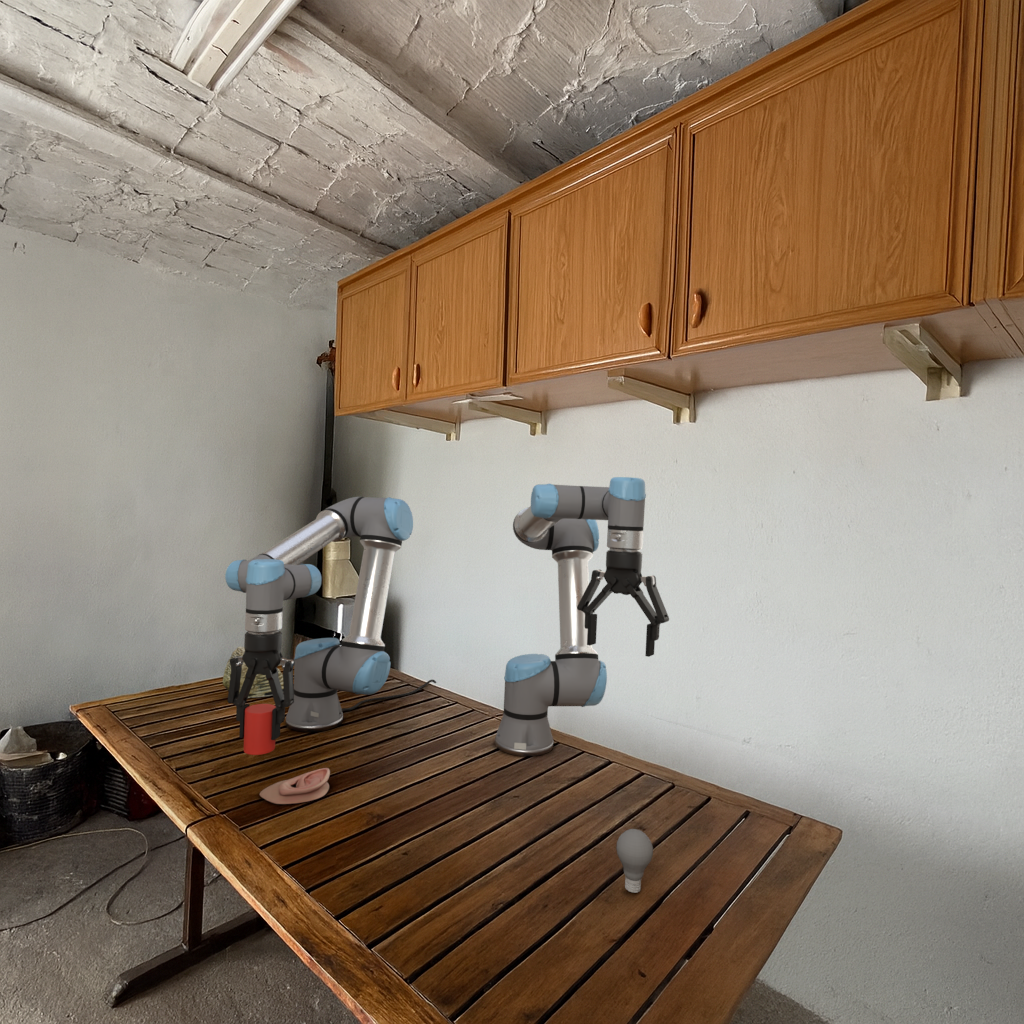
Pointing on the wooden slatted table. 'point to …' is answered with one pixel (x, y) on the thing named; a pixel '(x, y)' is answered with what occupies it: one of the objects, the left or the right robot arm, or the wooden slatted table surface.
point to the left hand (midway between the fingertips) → (259, 736)
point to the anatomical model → (298, 788)
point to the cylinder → (258, 729)
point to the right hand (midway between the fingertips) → (619, 649)
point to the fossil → (260, 681)
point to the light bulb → (634, 857)
